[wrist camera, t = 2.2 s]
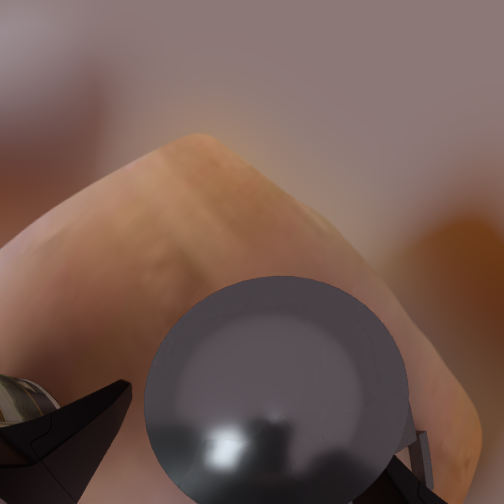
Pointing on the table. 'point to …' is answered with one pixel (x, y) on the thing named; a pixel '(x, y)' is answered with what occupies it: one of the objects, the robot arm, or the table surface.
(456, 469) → the table surface
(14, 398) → the coffee can
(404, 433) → the riveted post bracket
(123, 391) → the robot arm
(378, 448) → the link pin
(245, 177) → the table surface
